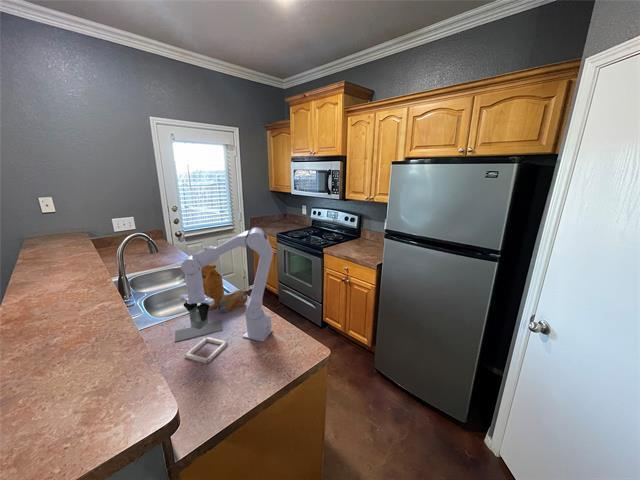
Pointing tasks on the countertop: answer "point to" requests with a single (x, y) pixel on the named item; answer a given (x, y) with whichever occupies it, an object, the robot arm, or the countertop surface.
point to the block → (197, 319)
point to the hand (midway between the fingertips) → (199, 318)
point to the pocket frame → (199, 358)
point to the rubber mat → (198, 331)
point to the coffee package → (212, 283)
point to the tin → (231, 301)
